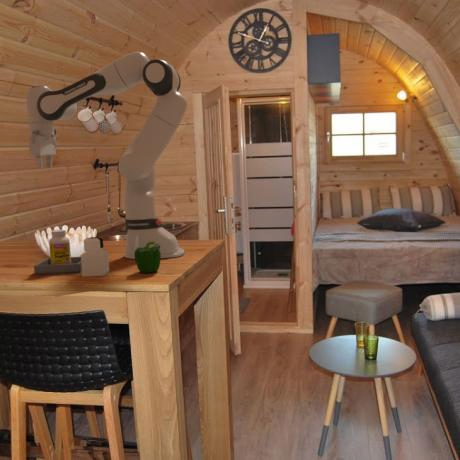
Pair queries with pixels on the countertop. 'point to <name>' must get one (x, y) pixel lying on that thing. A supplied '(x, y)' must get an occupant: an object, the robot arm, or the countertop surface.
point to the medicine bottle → (94, 258)
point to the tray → (58, 267)
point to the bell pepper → (148, 258)
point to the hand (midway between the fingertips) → (44, 168)
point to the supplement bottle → (59, 248)
